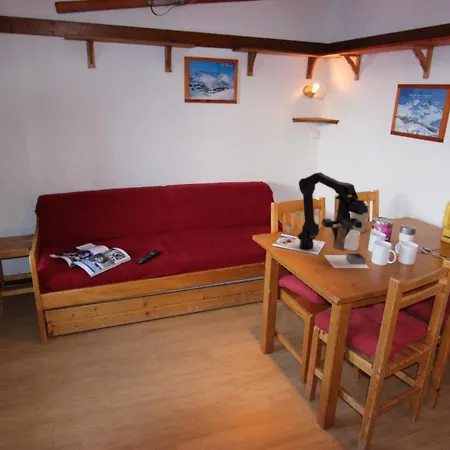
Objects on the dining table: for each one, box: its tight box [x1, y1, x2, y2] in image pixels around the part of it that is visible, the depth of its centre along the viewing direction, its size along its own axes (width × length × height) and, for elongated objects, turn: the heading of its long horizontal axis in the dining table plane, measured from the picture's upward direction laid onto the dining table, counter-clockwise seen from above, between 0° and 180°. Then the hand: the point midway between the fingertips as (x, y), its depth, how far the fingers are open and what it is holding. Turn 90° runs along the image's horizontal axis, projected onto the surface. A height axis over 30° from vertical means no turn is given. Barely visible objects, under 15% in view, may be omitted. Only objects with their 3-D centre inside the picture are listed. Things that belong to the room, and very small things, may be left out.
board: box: [323, 254, 370, 269], centre depth 206 cm, size 18×16×1 cm
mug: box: [344, 230, 361, 252], centre depth 222 cm, size 12×8×10 cm
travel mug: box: [352, 202, 369, 234], centre depth 253 cm, size 8×8×18 cm
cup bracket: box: [345, 252, 367, 264], centre depth 206 cm, size 7×7×3 cm
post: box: [332, 225, 347, 251], centre depth 201 cm, size 4×4×11 cm
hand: (339, 239), depth 202 cm, fingers closed on post, 4 cm apart
